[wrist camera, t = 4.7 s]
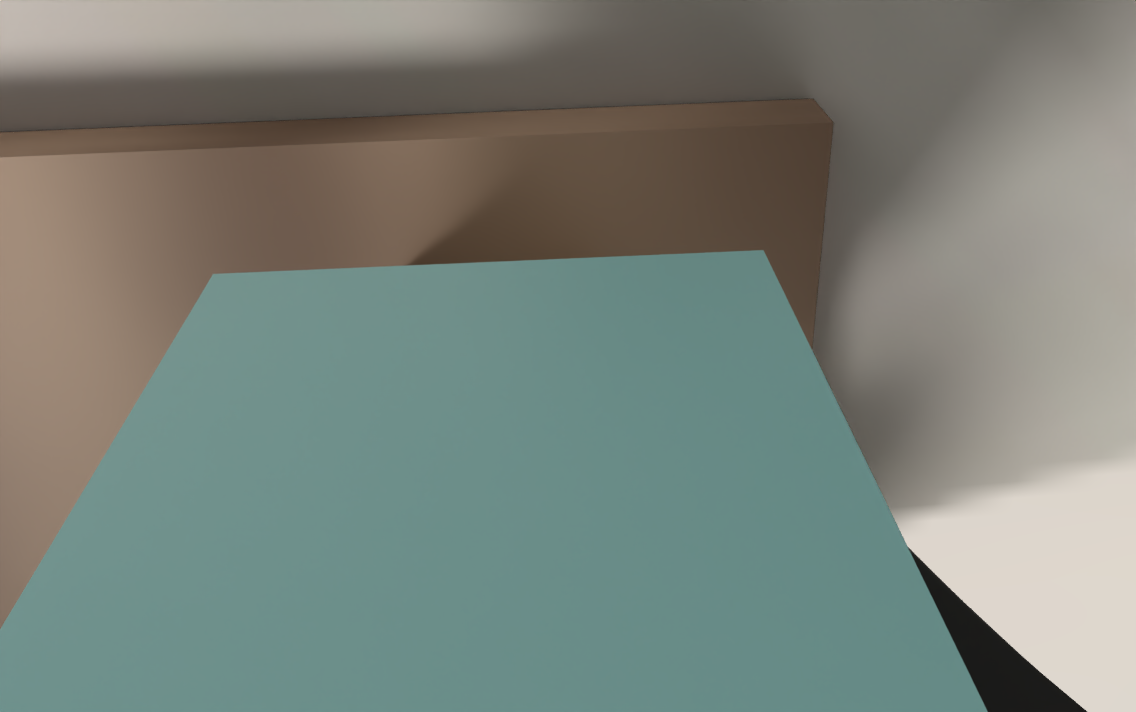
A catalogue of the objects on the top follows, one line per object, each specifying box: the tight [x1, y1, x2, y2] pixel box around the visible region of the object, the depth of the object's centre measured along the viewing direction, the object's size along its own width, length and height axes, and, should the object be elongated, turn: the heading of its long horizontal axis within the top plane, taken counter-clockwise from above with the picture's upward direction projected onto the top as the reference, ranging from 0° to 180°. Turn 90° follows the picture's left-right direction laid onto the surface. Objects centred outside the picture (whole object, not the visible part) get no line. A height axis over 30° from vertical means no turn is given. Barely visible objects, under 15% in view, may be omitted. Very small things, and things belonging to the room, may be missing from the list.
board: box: [0, 99, 834, 629], centre depth 16 cm, size 15×12×1 cm
